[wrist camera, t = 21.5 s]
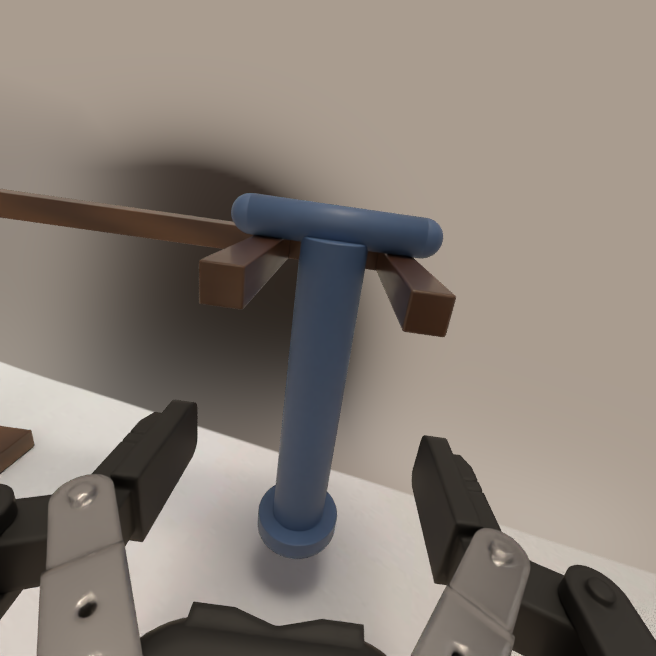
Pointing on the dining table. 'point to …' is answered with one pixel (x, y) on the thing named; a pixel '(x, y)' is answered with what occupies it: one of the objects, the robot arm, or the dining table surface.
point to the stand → (224, 267)
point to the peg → (320, 347)
